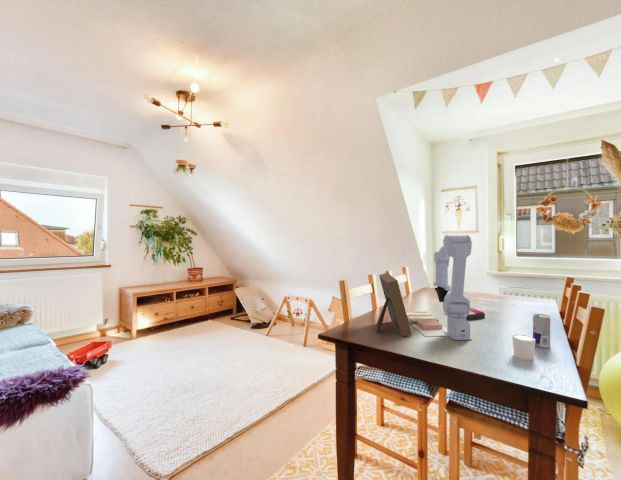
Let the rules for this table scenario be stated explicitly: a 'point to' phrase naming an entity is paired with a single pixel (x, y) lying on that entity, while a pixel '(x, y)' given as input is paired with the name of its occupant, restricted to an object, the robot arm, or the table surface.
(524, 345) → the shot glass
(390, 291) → the photo frame
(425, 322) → the tile
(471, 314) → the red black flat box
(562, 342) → the table surface
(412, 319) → the deck
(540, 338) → the energy drink
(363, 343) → the table surface
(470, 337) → the robot arm
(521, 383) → the table surface
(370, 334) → the table surface
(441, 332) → the mat
